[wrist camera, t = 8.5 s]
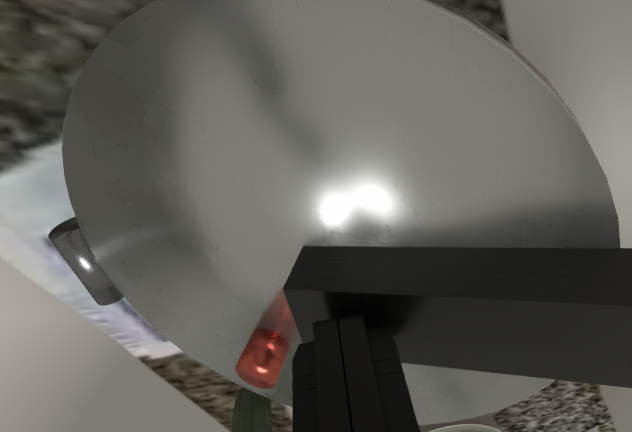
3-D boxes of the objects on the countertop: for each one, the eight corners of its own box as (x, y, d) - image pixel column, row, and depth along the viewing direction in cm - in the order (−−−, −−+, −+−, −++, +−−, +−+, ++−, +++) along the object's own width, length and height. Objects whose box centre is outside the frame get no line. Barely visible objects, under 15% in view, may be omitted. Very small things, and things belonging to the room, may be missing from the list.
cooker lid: (-43, 48, 15) (-155, 79, 12) (1039, -248, 6) (1537, -384, 3) (172, 366, 25) (137, 421, 22) (684, 438, 16) (728, 545, 13)
